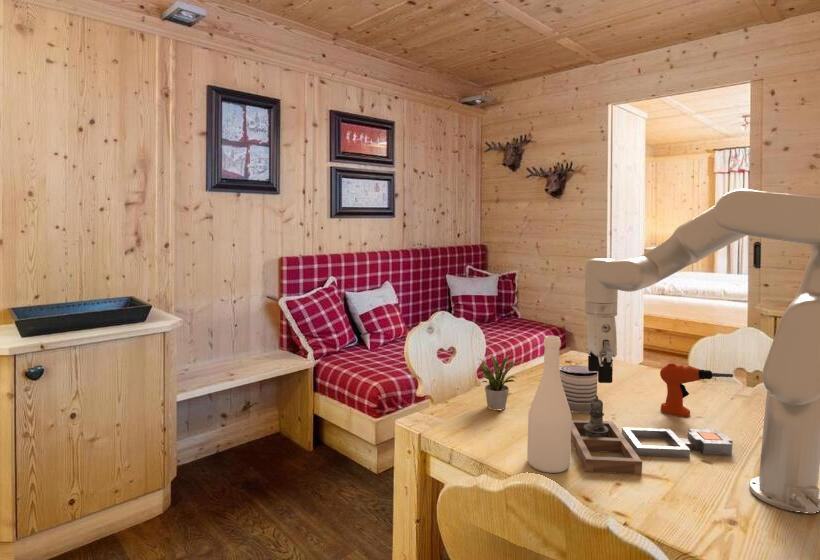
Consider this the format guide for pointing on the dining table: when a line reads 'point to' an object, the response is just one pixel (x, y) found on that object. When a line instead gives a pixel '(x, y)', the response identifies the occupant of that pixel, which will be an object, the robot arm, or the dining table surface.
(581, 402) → the can
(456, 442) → the dining table surface
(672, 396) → the toy drill
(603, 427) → the chess piece
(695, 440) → the grey flat frame piece
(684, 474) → the dining table surface
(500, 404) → the house plant
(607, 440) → the walnut rack
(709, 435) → the button
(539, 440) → the wine bottle
